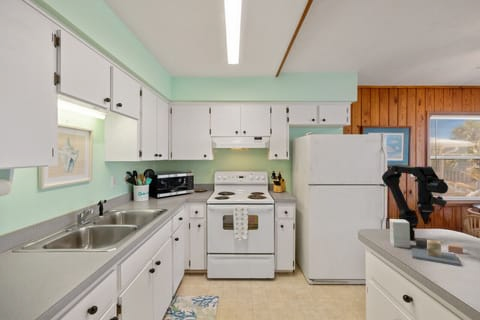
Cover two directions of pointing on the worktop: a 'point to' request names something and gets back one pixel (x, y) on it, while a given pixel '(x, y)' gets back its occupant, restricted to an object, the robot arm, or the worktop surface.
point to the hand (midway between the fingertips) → (425, 222)
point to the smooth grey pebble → (421, 243)
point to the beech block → (434, 248)
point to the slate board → (445, 257)
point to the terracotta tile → (455, 249)
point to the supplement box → (400, 233)
